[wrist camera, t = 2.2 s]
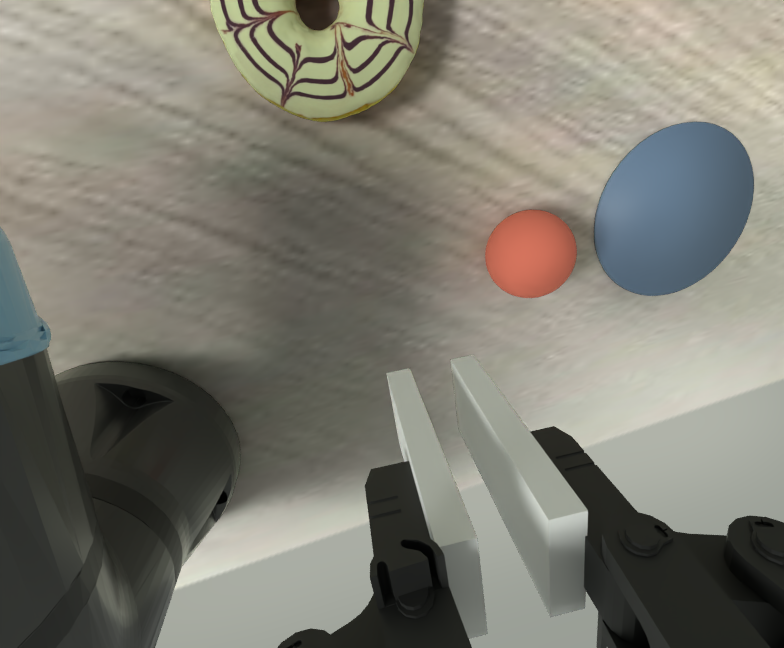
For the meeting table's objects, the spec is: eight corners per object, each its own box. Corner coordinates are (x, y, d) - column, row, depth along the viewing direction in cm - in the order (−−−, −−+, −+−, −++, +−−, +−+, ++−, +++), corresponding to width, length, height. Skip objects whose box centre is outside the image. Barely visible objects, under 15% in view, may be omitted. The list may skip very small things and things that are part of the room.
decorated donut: (371, -149, 22) (381, -207, 18) (438, 81, 26) (456, 70, 22) (178, -70, 22) (151, -112, 18) (276, 148, 26) (269, 147, 22)
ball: (488, 296, 31) (520, 324, 26) (462, 226, 29) (492, 242, 24) (558, 263, 31) (604, 285, 26) (537, 190, 29) (583, 199, 24)
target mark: (612, 320, 33) (614, 321, 33) (576, 170, 29) (578, 170, 29) (756, 253, 33) (759, 253, 33) (744, 90, 28) (746, 89, 28)
